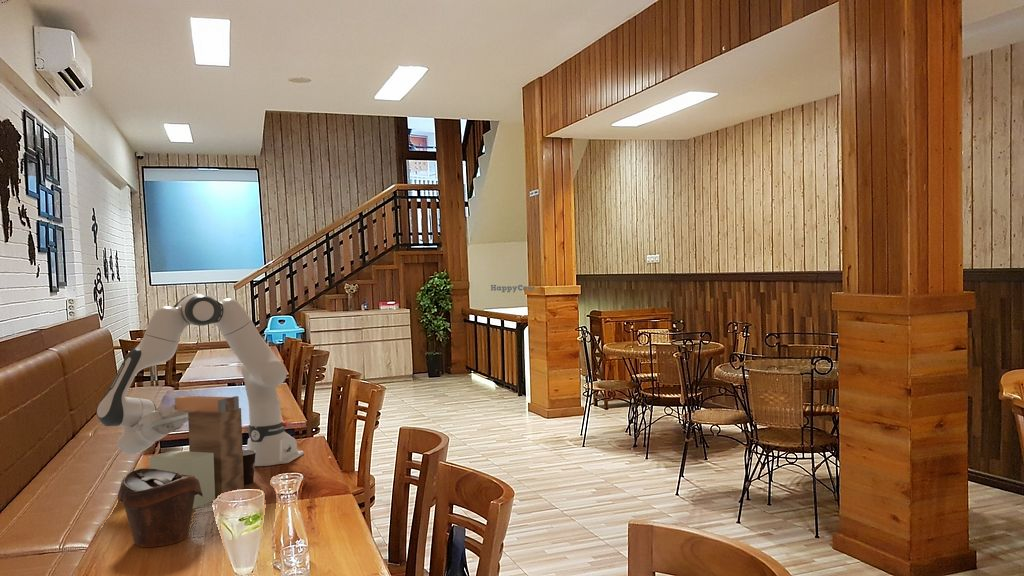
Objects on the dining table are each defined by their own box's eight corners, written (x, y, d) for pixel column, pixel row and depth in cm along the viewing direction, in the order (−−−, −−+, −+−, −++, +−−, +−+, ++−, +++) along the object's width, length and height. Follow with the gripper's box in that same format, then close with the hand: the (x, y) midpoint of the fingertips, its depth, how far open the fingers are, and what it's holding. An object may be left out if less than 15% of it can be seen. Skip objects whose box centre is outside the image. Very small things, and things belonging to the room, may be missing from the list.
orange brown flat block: (189, 406, 238) (188, 394, 238) (238, 408, 232) (238, 396, 232) (170, 411, 231) (169, 398, 231) (221, 413, 224) (221, 400, 224)
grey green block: (173, 496, 227) (172, 450, 227) (215, 499, 222) (213, 452, 221) (150, 505, 218) (149, 457, 218) (193, 509, 213) (191, 460, 213)
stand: (213, 486, 237) (210, 407, 237) (243, 488, 233) (241, 408, 233) (191, 495, 228) (188, 412, 227) (222, 497, 224) (219, 414, 224)
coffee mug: (247, 486, 235) (246, 456, 235) (223, 486, 237) (222, 455, 237) (266, 477, 246) (265, 447, 246) (243, 476, 248) (242, 447, 248)
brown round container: (199, 545, 183) (197, 474, 183) (111, 557, 177) (108, 483, 177) (208, 524, 200) (205, 459, 200) (128, 534, 194) (125, 467, 194)
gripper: (127, 422, 229) (156, 401, 225) (176, 410, 248) (204, 391, 244) (136, 440, 228) (165, 419, 224) (184, 426, 247) (212, 407, 243)
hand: (185, 404), depth 234 cm, fingers open, 8 cm apart
